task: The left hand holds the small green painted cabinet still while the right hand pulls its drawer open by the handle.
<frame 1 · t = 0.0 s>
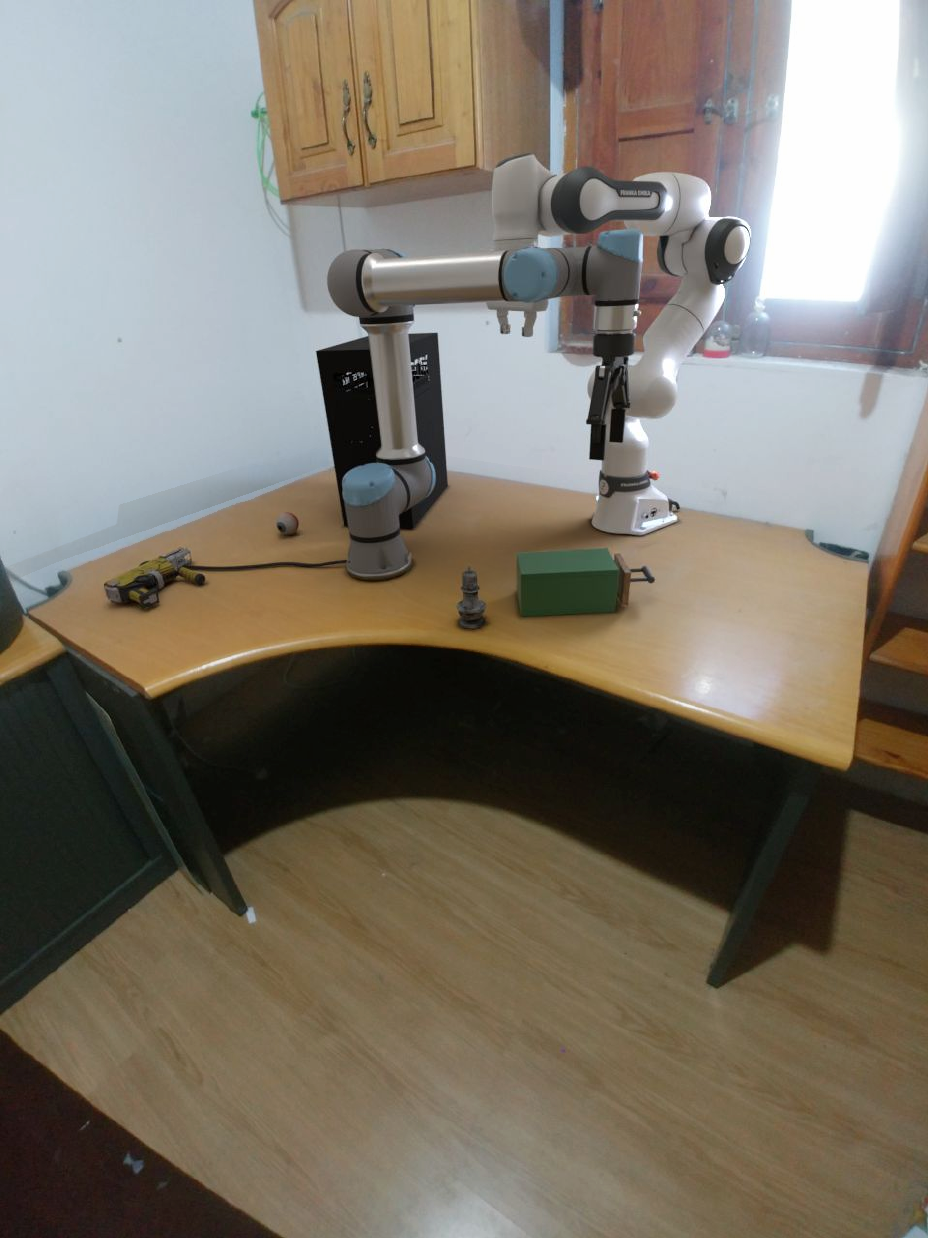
left hand: (606, 450, 119), 28 cm above the table, tool pointing down, fingers open, 13 cm apart
right hand: (516, 335, 125), 48 cm above the table, tool pointing down, fingers open, 8 cm apart
eyeball: (289, 534, 165), on the table
cabinet: (564, 602, 124), on the table
cardboard box: (399, 505, 182), on the table
drawer: (594, 580, 122), point 5 cm above the table, slide at 1.4 cm
grey chess piece: (472, 622, 119), on the table
toy gun: (171, 586, 140), on the table
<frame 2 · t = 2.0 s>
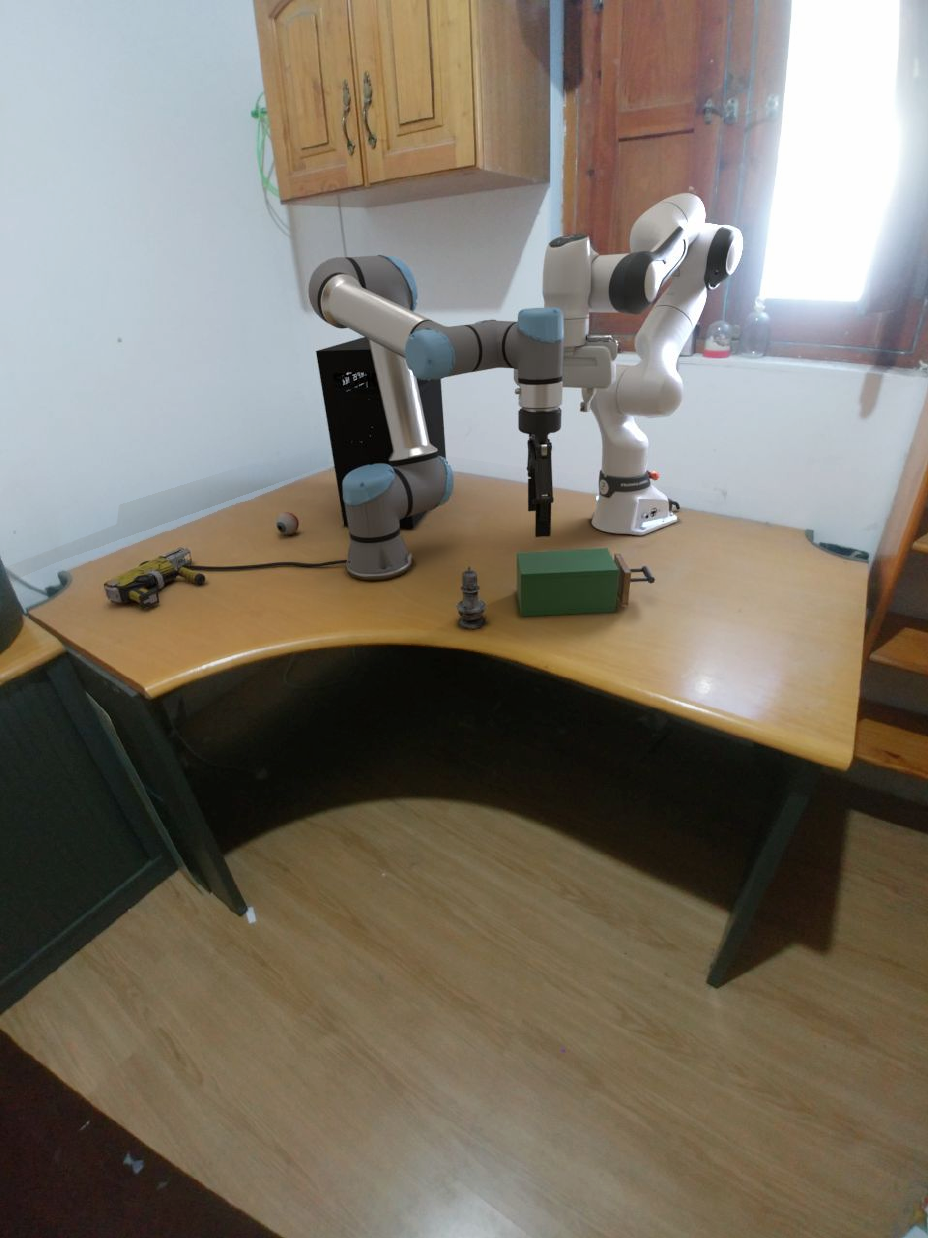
left hand: (538, 522, 116), 18 cm above the table, tool pointing down, fingers open, 13 cm apart
right hand: (562, 410, 122), 35 cm above the table, tool pointing down, fingers open, 8 cm apart
nothing on the table moved.
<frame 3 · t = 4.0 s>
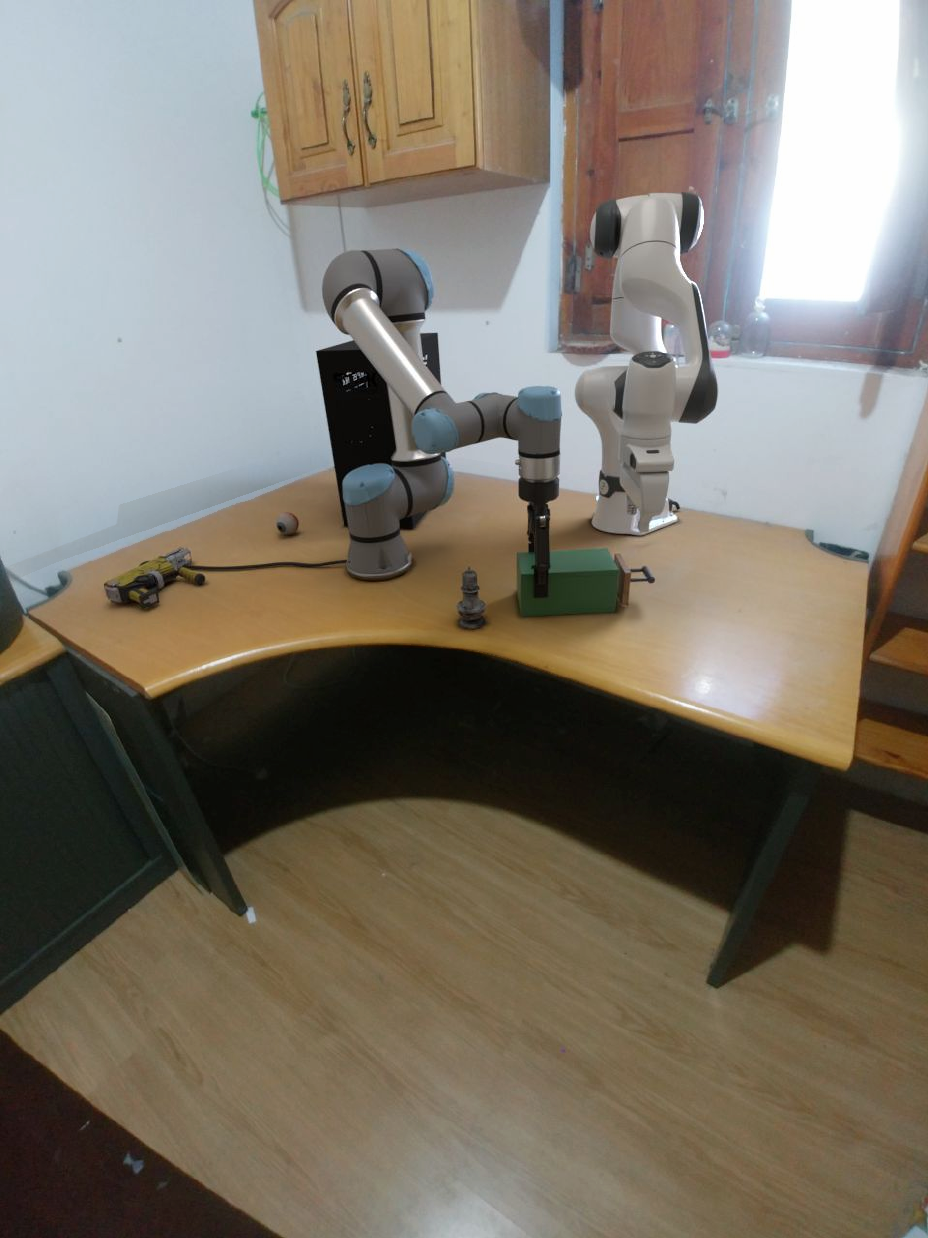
left hand: (537, 584, 122), 4 cm above the table, tool pointing down, fingers closed on cabinet, 10 cm apart
right hand: (636, 522, 116), 16 cm above the table, tool pointing down, fingers open, 8 cm apart
cabinet: (564, 602, 124), on the table, touching left hand
everything else where it was.
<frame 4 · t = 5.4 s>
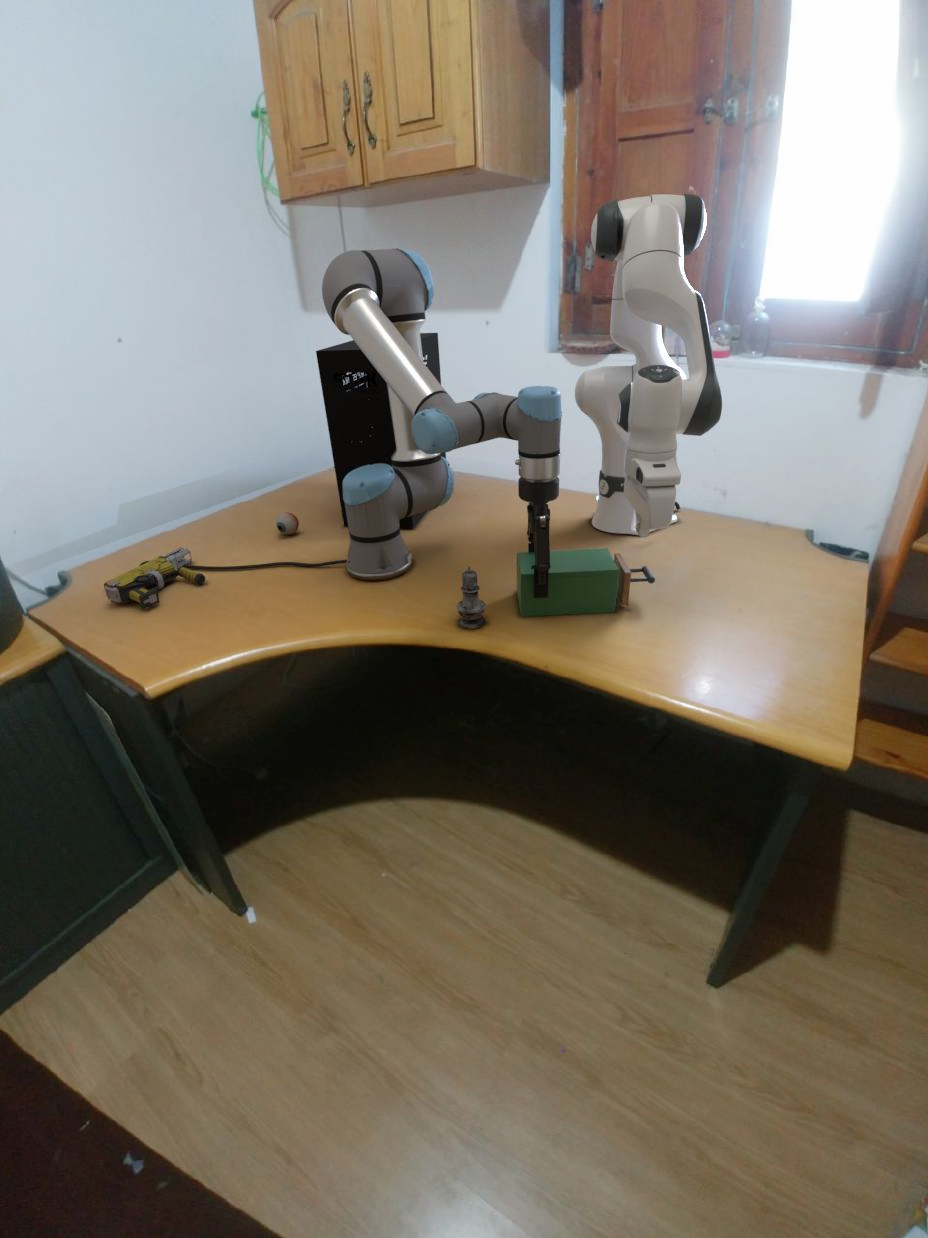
left hand: (537, 584, 122), 4 cm above the table, tool pointing down, fingers closed on cabinet, 10 cm apart
right hand: (642, 534, 117), 14 cm above the table, tool pointing down, fingers closed
cabinet: (564, 602, 124), on the table, touching left hand
everything else where it was.
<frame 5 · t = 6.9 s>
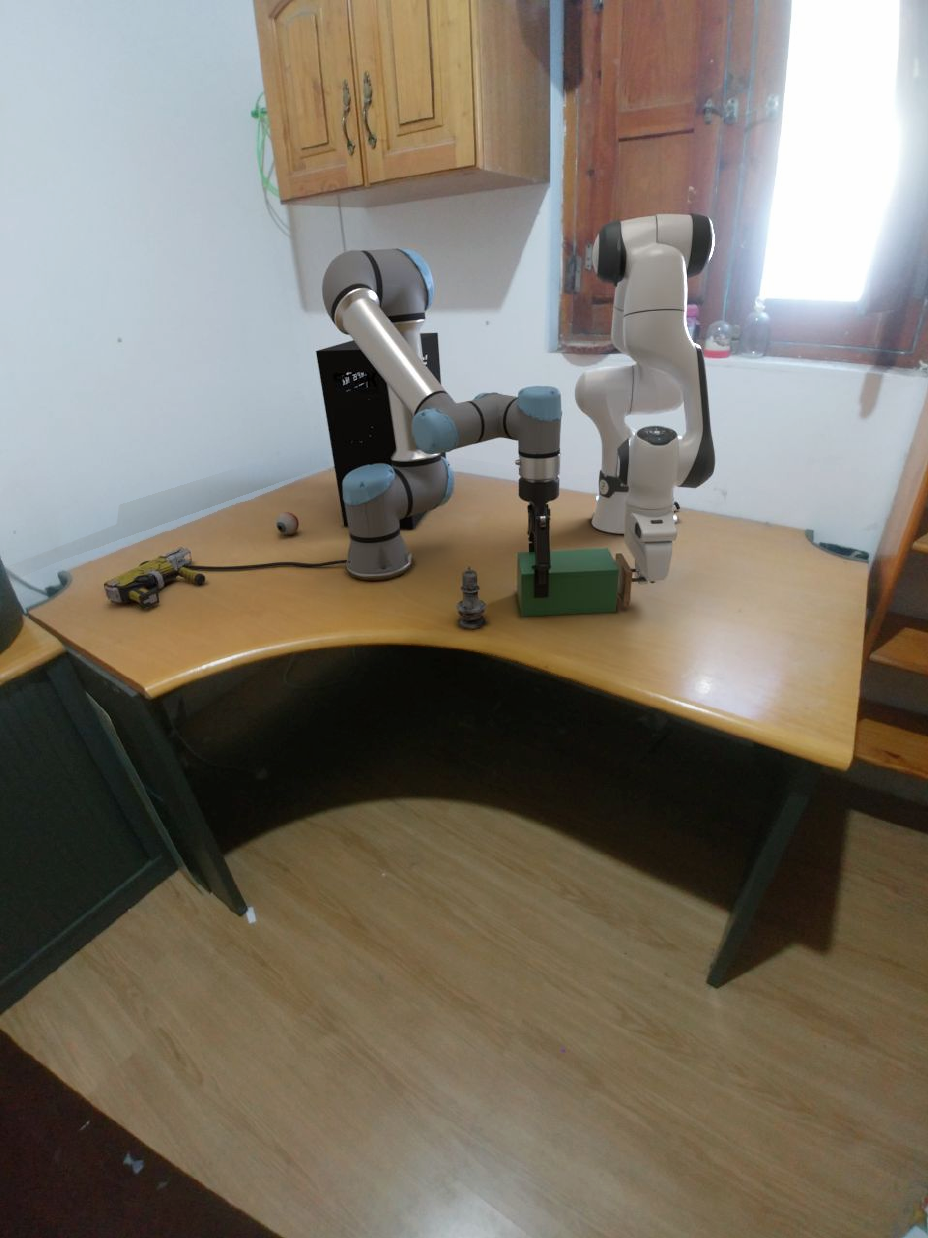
left hand: (538, 583, 122), 4 cm above the table, tool pointing down, fingers closed on cabinet, 10 cm apart
right hand: (641, 581, 122), 4 cm above the table, tool pointing down, fingers closed, pressing on drawer
cabinet: (564, 601, 124), on the table, touching left hand
drawer: (595, 580, 122), point 5 cm above the table, slide at 1.6 cm, touching right hand
everything else where it was.
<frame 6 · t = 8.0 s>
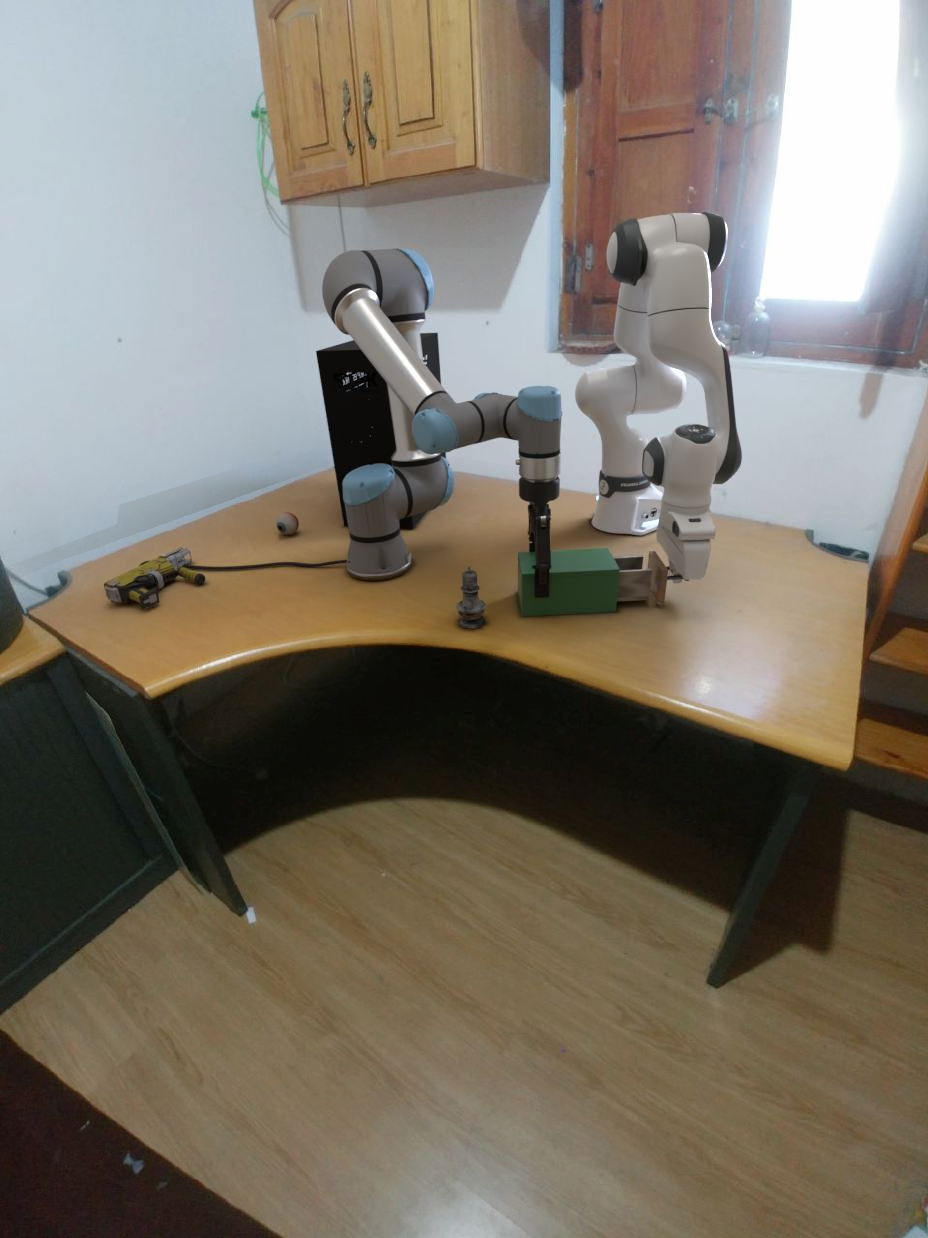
left hand: (538, 583, 122), 4 cm above the table, tool pointing down, fingers closed on cabinet, 10 cm apart
right hand: (675, 579, 122), 4 cm above the table, tool pointing down, fingers closed, pressing on drawer
cabinet: (565, 601, 124), on the table, touching left hand
drawer: (629, 578, 122), point 5 cm above the table, slide at 8.3 cm, touching right hand
everything else where it was.
when the left hand's fingers open (5 cm above the table, at t = 9.9 s): cabinet stays where it is, on the table.
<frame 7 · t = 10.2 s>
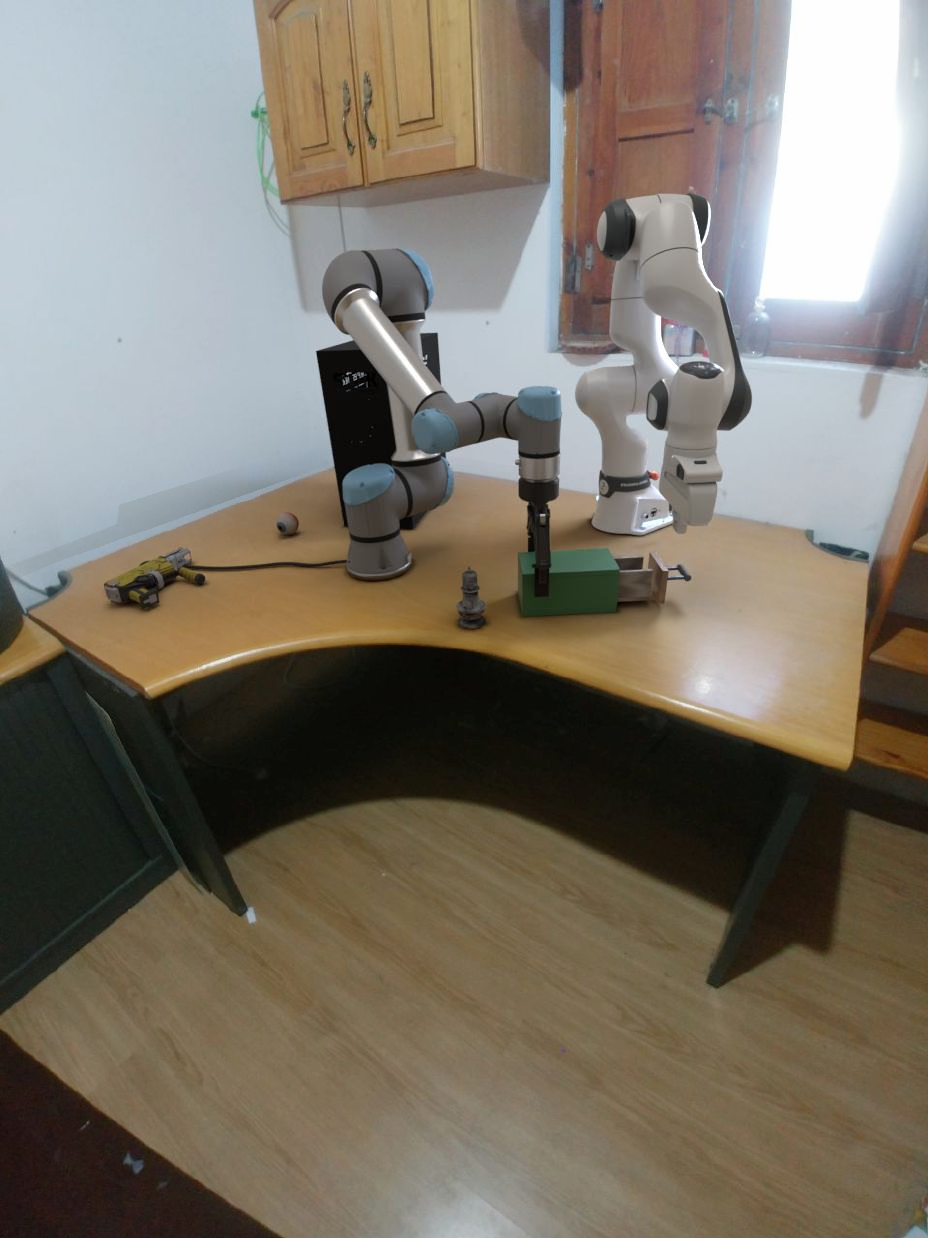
left hand: (537, 580, 122), 5 cm above the table, tool pointing down, fingers open, 13 cm apart
right hand: (678, 531, 116), 14 cm above the table, tool pointing down, fingers closed
cabinet: (565, 601, 124), on the table
drawer: (630, 578, 122), point 5 cm above the table, slide at 8.4 cm
everything else where it was.
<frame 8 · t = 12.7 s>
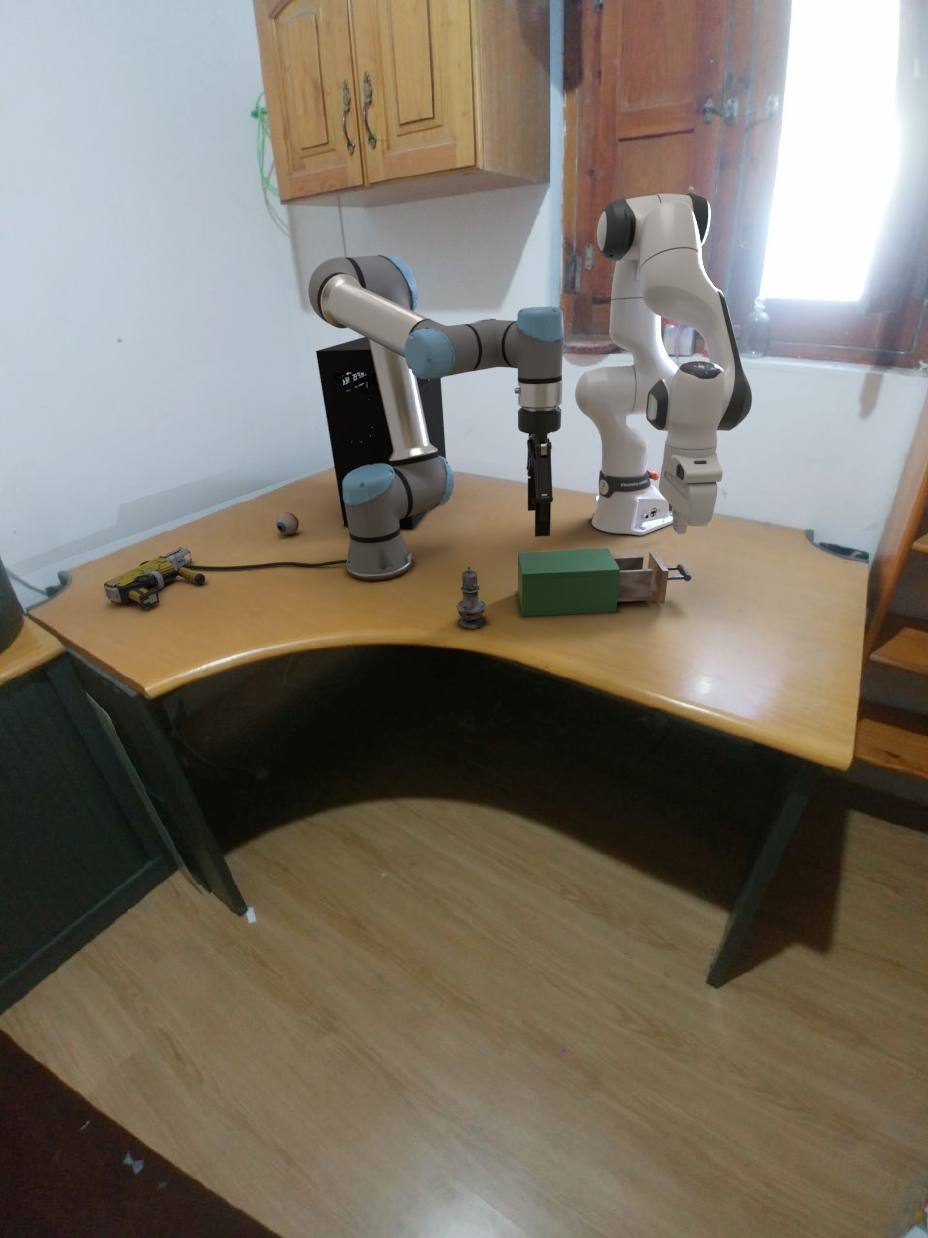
left hand: (538, 522, 115), 18 cm above the table, tool pointing down, fingers open, 13 cm apart
right hand: (678, 531, 116), 14 cm above the table, tool pointing down, fingers closed
nothing on the table moved.
at the end: drawer slide at 8.4 cm; cabinet tilted 0°; cabinet never tilted more than 2° during the clip; cabinet moved 0.2 cm from its start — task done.
